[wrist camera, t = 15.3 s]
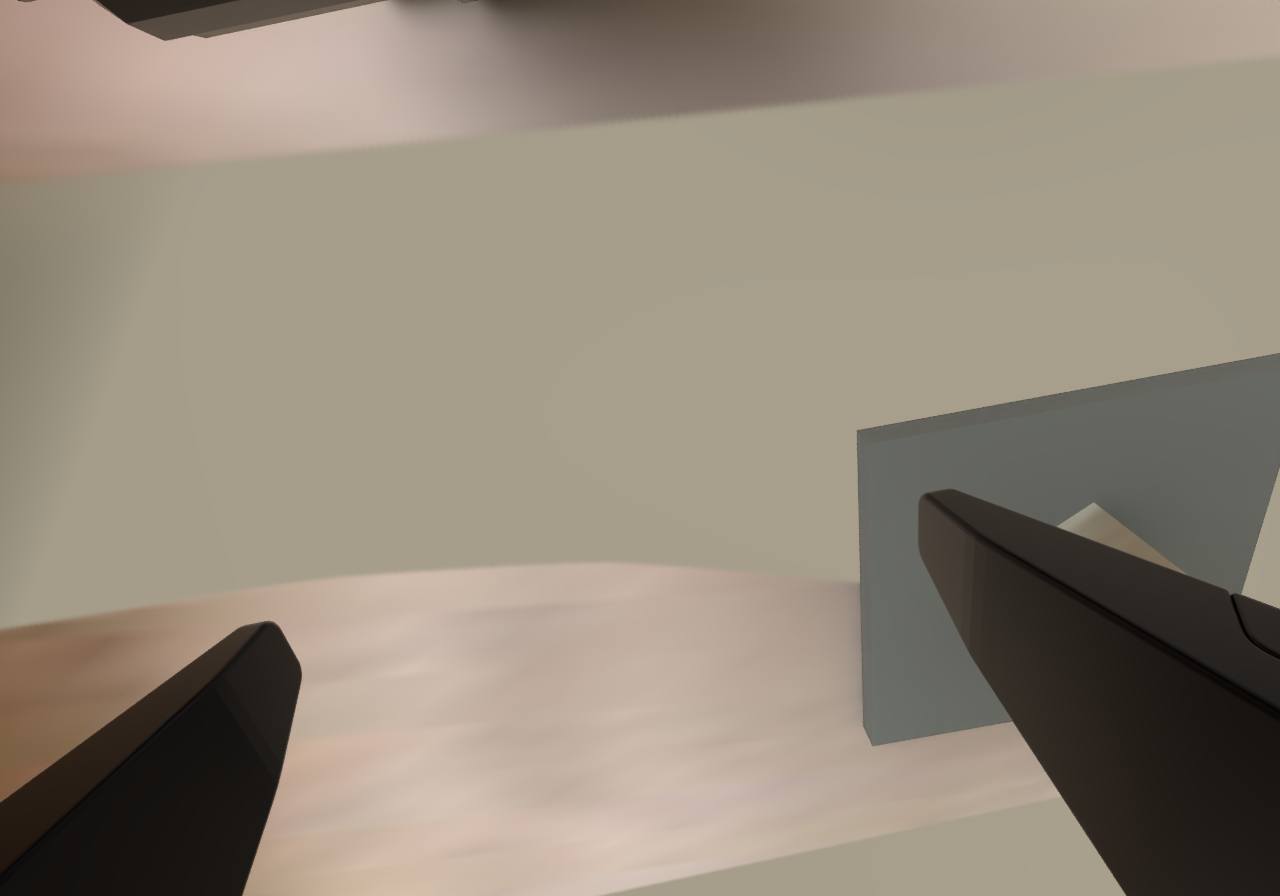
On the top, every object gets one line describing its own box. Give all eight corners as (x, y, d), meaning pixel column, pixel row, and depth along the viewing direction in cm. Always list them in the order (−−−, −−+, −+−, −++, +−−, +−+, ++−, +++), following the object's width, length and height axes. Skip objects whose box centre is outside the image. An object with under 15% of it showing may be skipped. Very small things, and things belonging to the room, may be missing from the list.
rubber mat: (856, 430, 22) (868, 443, 21) (1282, 352, 22) (1311, 363, 21) (863, 726, 29) (872, 746, 28) (1193, 667, 28) (1213, 685, 28)
